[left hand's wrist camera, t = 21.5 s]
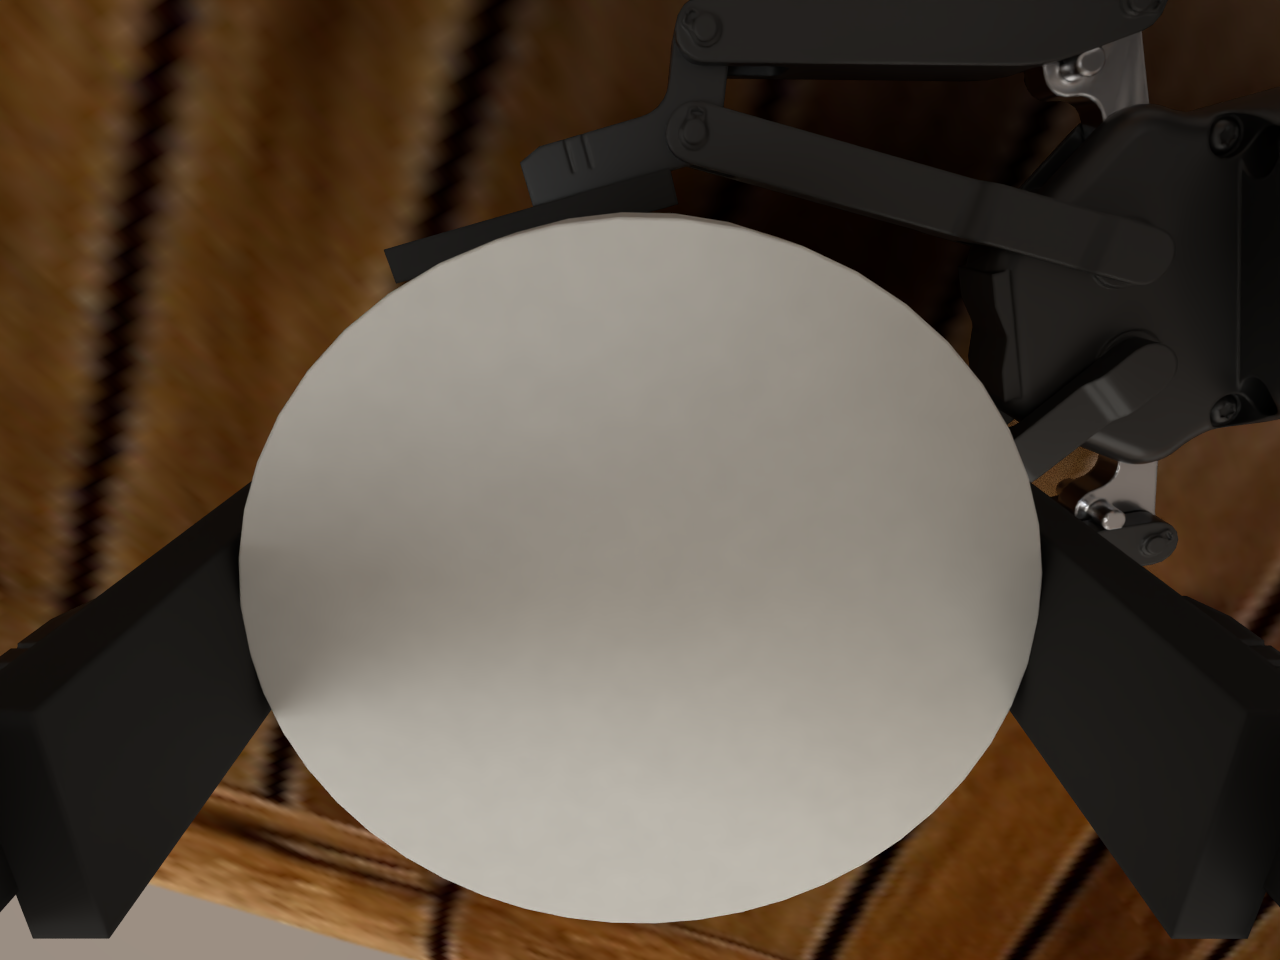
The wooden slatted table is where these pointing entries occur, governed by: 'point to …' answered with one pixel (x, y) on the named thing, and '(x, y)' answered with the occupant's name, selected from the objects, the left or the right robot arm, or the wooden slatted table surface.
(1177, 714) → the left robot arm
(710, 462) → the lid
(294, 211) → the wooden slatted table surface
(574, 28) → the wooden slatted table surface
